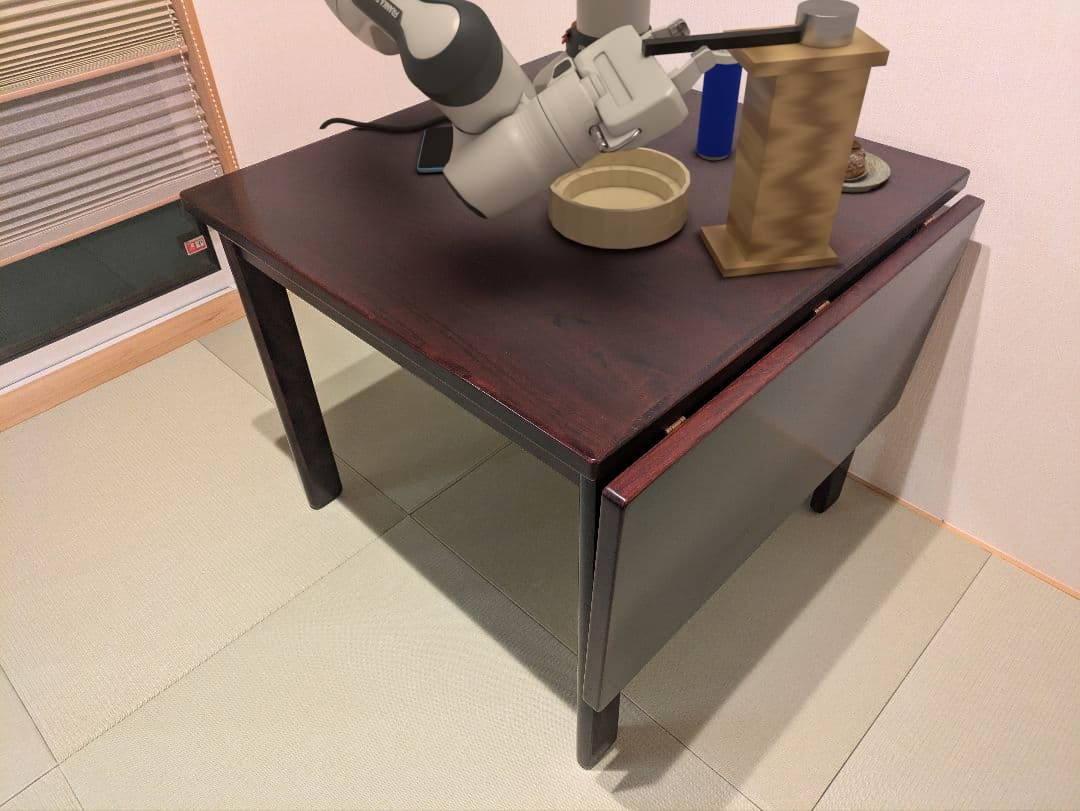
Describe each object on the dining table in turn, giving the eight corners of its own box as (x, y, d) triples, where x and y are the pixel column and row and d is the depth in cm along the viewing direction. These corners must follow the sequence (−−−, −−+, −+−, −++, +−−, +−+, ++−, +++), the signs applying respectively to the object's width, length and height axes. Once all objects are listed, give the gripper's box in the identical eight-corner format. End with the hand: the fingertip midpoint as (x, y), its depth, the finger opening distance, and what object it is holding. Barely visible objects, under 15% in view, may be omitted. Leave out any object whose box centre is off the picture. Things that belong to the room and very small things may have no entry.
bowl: (527, 238, 103) (524, 196, 99) (579, 177, 115) (579, 137, 111) (661, 265, 97) (665, 222, 93) (702, 198, 109) (706, 157, 105)
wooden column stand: (723, 277, 95) (754, 62, 78) (699, 235, 102) (722, 30, 85) (835, 265, 96) (890, 50, 79) (804, 224, 103) (847, 19, 86)
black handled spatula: (837, 26, 84) (844, -4, 82) (862, 45, 80) (869, 14, 78) (636, 44, 83) (637, 13, 81) (650, 64, 78) (651, 32, 76)
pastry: (784, 176, 113) (790, 145, 110) (827, 147, 119) (834, 117, 116) (862, 202, 106) (871, 170, 103) (903, 171, 113) (913, 140, 110)
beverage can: (734, 149, 120) (748, 46, 110) (725, 163, 116) (739, 58, 106) (701, 144, 121) (712, 42, 111) (691, 158, 118) (701, 54, 108)
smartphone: (469, 124, 128) (465, 166, 117) (470, 130, 128) (466, 171, 117) (424, 126, 128) (415, 168, 117) (424, 131, 128) (416, 173, 117)
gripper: (586, 133, 74) (718, 46, 71) (552, 58, 89) (660, -17, 86) (617, 183, 78) (743, 103, 75) (580, 104, 93) (684, 33, 90)
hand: (698, 38), depth 80 cm, fingers open, 8 cm apart
